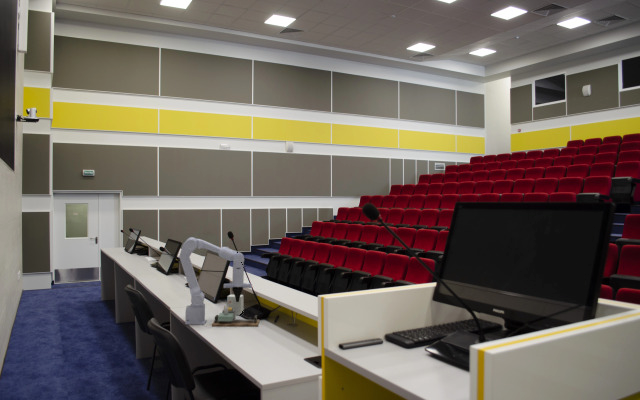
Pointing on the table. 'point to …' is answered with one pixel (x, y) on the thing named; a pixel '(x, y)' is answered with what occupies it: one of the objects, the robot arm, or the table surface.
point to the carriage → (226, 315)
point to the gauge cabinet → (231, 312)
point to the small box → (236, 304)
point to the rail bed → (236, 323)
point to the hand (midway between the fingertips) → (237, 301)
